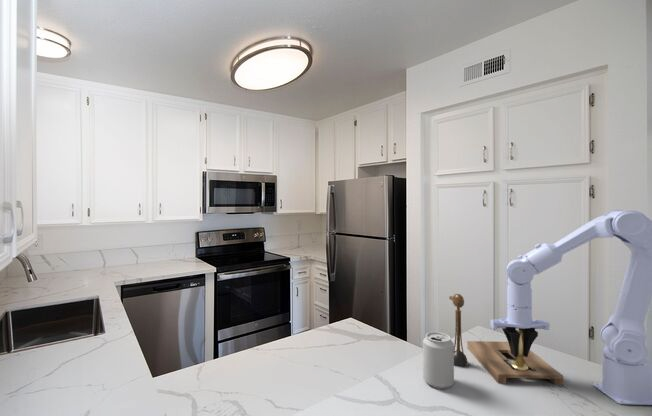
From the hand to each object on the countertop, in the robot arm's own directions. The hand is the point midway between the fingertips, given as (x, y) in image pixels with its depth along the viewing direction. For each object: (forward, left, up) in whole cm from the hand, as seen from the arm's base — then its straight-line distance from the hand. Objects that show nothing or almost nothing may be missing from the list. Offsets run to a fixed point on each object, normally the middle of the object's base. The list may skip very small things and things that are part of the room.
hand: (519, 355), depth 86 cm
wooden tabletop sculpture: (+14, -6, -5) cm, 16 cm away
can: (+23, +5, -5) cm, 24 cm away
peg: (0, 0, -3) cm, 4 cm away
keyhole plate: (0, -5, -5) cm, 7 cm away
